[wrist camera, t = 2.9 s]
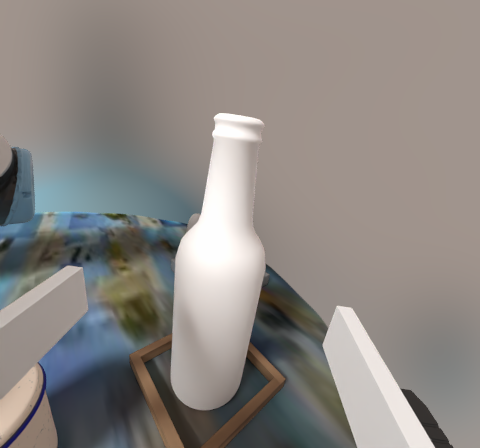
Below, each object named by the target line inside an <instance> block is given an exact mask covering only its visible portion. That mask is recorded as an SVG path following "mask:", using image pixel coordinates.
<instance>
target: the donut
mask: <svg viewBox="0 0 480 448" xmlns="http://www.w3.org/2000/svg"><path fill="white" fill-rule="evenodd" d="M200 215H201V214H194V215H192V216H191V218H190V219H189V222H188V226H187V232H188V231H189V230H190V229H191V228H192V227H193V226H194V225H195V224H196V223H197V222H198V220H199V218H200ZM187 232H186V233H187Z"/></svg>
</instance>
